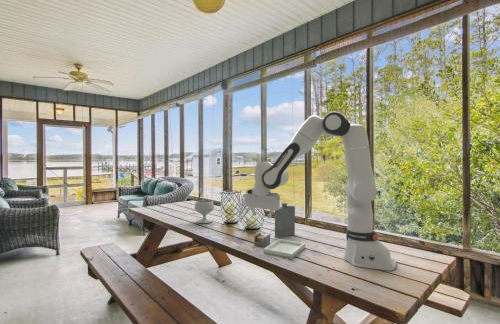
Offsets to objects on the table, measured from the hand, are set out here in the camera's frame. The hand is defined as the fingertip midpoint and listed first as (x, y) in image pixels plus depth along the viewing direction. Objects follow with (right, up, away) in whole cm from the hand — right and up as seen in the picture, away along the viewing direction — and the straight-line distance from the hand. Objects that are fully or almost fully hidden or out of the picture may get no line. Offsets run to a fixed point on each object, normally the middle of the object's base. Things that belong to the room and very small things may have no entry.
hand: (261, 216), depth 150 cm
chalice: (-40, -14, +52) cm, 67 cm away
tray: (+12, -16, -8) cm, 21 cm away
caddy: (0, -16, 0) cm, 16 cm away
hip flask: (+15, -16, +19) cm, 28 cm away
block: (0, -15, 0) cm, 15 cm away
